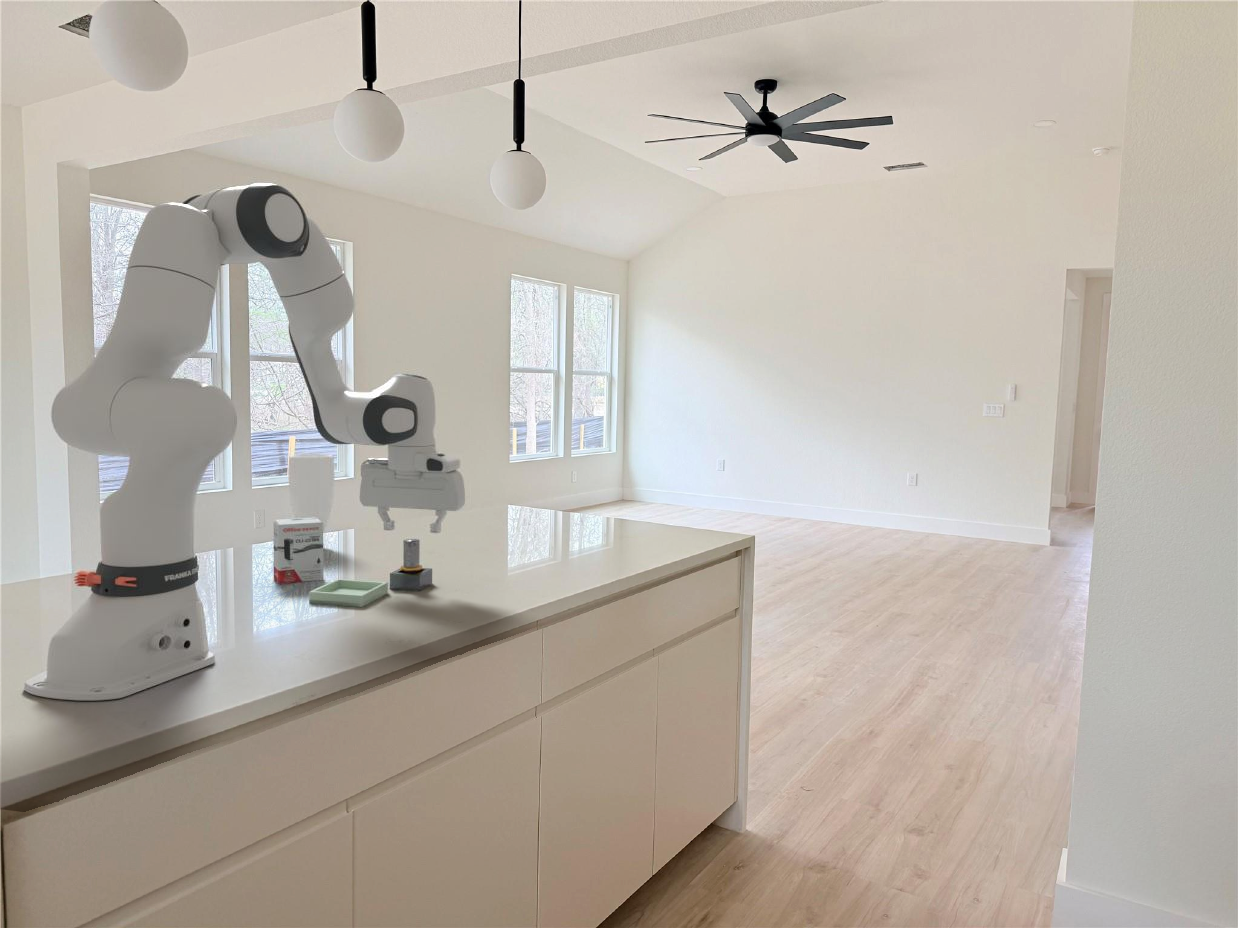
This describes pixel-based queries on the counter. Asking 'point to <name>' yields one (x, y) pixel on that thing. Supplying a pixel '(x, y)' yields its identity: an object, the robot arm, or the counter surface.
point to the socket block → (411, 580)
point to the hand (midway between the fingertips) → (412, 531)
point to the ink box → (298, 550)
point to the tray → (348, 592)
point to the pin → (411, 556)
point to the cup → (311, 485)
